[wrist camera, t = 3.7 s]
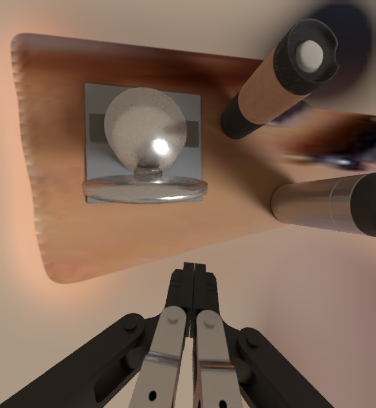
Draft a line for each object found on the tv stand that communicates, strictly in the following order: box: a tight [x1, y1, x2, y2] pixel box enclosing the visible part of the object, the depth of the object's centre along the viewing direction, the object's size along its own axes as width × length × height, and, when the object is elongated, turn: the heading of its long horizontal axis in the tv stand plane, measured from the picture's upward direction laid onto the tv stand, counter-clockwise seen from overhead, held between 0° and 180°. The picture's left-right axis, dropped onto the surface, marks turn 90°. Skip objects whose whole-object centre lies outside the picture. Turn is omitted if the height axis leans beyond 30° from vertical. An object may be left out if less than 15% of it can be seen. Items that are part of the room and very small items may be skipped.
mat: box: [85, 83, 202, 203], centre depth 37 cm, size 22×22×1 cm
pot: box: [89, 87, 199, 173], centre depth 32 cm, size 16×13×9 cm
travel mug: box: [221, 19, 339, 139], centre depth 31 cm, size 8×8×20 cm
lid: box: [82, 170, 208, 204], centre depth 22 cm, size 13×14×2 cm
